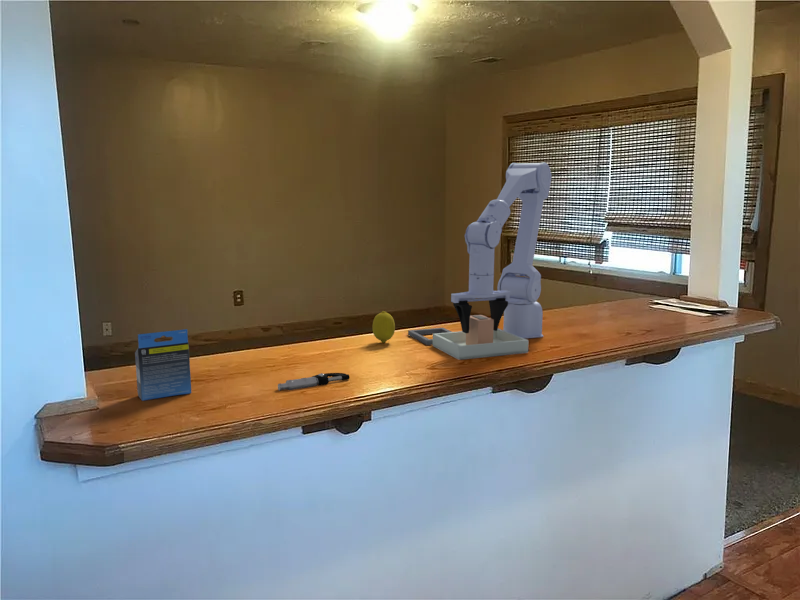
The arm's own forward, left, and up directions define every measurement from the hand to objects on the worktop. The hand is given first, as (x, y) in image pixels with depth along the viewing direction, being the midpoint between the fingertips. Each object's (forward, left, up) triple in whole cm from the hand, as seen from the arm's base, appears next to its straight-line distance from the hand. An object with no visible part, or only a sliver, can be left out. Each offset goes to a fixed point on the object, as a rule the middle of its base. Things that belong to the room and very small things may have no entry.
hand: (479, 331), depth 157 cm
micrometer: (+44, +11, -5) cm, 46 cm away
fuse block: (0, 0, -4) cm, 4 cm away
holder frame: (+5, -14, -4) cm, 16 cm away
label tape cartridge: (+71, +10, -5) cm, 72 cm away
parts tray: (0, 0, -4) cm, 4 cm away
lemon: (+19, -14, -5) cm, 24 cm away
